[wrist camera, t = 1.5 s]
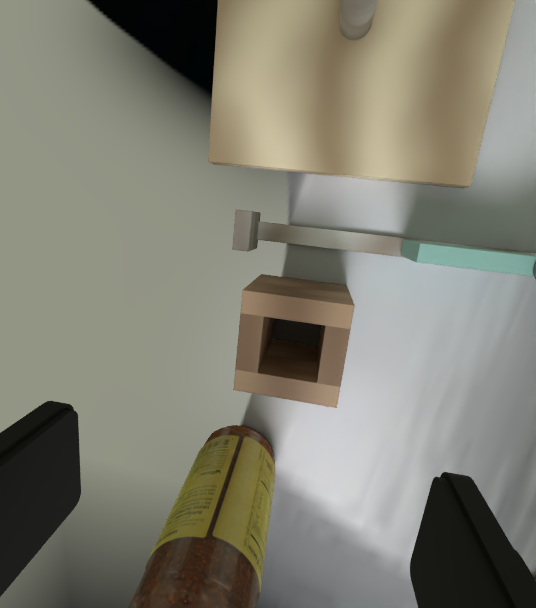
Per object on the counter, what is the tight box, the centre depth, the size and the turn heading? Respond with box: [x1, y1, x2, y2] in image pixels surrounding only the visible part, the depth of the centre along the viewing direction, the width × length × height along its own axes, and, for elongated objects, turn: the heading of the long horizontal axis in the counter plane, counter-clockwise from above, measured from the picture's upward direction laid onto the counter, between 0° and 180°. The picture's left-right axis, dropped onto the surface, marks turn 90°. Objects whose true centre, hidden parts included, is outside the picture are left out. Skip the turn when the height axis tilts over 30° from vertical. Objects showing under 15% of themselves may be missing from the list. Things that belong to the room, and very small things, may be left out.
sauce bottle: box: [129, 425, 275, 608], centre depth 19 cm, size 7×6×20 cm
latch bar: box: [401, 240, 536, 278], centre depth 19 cm, size 8×2×5 cm, turn 84°
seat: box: [208, 0, 536, 257], centre depth 19 cm, size 22×21×4 cm
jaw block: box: [234, 274, 354, 408], centre depth 22 cm, size 6×6×6 cm
